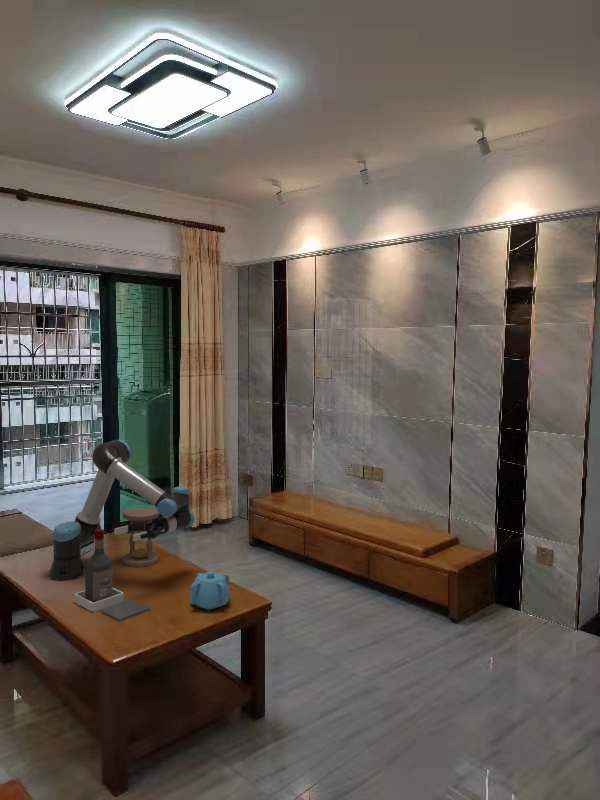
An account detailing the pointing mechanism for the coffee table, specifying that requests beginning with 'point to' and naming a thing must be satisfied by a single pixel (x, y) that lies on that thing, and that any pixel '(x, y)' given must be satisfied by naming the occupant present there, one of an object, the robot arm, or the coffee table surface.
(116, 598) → the bottle holder
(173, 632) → the coffee table surface
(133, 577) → the coffee table surface
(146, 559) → the hourglass
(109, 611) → the slate coaster
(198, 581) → the decorative pot
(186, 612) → the coffee table surface
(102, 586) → the liquor
